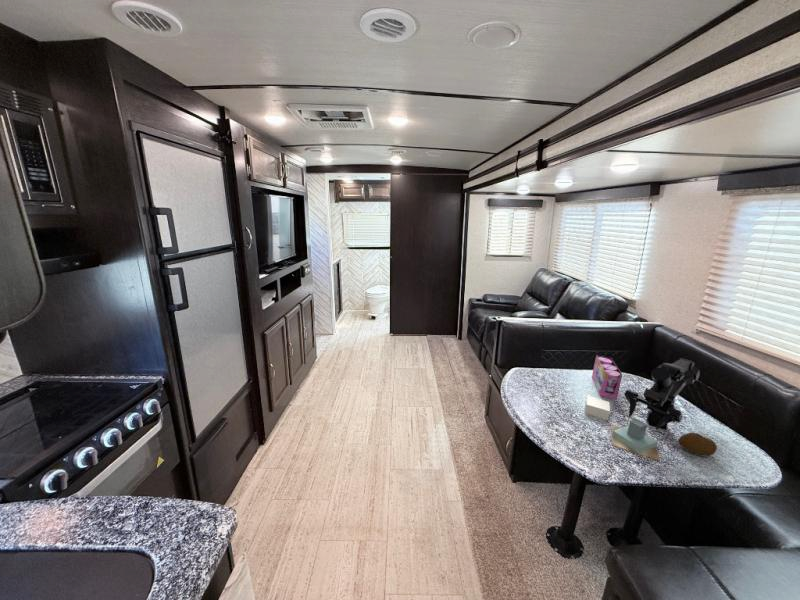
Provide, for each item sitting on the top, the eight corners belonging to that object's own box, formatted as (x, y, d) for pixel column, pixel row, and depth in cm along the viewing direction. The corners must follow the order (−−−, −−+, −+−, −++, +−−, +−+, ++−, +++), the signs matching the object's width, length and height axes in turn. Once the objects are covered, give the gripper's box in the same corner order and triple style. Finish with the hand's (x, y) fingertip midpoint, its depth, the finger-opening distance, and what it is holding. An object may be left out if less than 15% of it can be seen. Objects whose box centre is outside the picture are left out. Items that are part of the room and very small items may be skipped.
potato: (720, 461, 117) (726, 443, 116) (686, 459, 118) (692, 441, 116) (701, 446, 125) (706, 429, 123) (669, 444, 126) (674, 427, 124)
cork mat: (653, 439, 128) (654, 438, 128) (659, 461, 116) (660, 460, 116) (610, 425, 136) (610, 424, 136) (611, 445, 123) (612, 444, 123)
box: (607, 410, 147) (609, 401, 146) (607, 420, 140) (609, 411, 139) (585, 404, 152) (587, 395, 150) (584, 413, 144) (586, 404, 143)
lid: (628, 430, 132) (633, 412, 130) (656, 447, 123) (661, 428, 121) (612, 435, 128) (616, 417, 126) (639, 453, 119) (644, 434, 117)
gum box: (618, 400, 156) (624, 376, 153) (599, 397, 159) (605, 372, 155) (607, 379, 177) (612, 357, 174) (591, 376, 180) (595, 354, 177)
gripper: (631, 372, 132) (613, 402, 129) (687, 393, 117) (668, 428, 114) (635, 384, 138) (618, 413, 135) (689, 405, 123) (671, 438, 120)
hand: (642, 422), depth 126 cm, fingers open, 9 cm apart
